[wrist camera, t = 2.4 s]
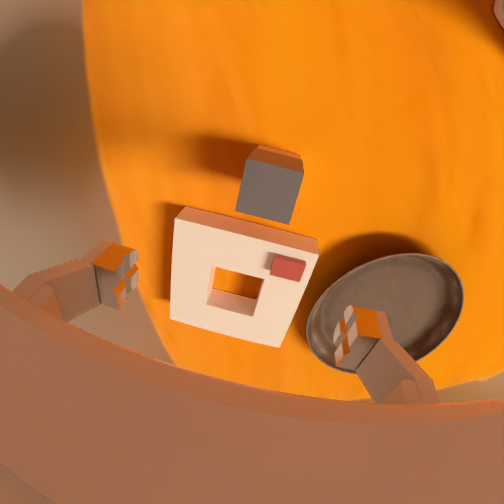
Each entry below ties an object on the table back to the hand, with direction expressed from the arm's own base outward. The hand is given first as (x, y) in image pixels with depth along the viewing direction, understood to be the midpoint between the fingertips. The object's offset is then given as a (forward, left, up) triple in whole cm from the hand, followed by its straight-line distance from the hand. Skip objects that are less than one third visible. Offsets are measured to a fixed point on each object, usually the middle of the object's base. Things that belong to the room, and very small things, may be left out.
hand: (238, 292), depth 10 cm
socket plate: (+13, -1, -18) cm, 22 cm away
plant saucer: (+13, +18, -18) cm, 29 cm away
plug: (0, 0, -18) cm, 18 cm away
